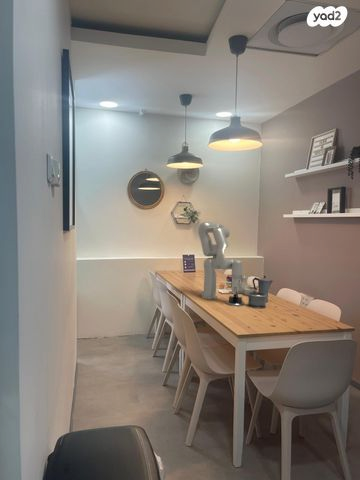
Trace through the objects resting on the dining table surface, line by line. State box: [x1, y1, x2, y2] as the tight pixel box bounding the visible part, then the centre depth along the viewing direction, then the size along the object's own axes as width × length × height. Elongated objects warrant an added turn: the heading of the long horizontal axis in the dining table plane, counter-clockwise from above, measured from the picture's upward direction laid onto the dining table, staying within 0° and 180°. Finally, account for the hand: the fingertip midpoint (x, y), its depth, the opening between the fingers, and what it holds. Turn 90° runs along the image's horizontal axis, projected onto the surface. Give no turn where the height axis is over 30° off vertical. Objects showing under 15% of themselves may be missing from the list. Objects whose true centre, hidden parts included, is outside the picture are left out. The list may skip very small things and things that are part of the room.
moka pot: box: [252, 275, 274, 304], centre depth 266 cm, size 10×15×20 cm, turn 78°
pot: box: [247, 291, 267, 309], centre depth 249 cm, size 13×13×9 cm
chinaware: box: [238, 274, 259, 297], centre depth 295 cm, size 28×17×17 cm, turn 161°
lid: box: [226, 295, 245, 307], centre depth 253 cm, size 13×13×5 cm
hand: (235, 301), depth 253 cm, fingers closed on lid, 4 cm apart
